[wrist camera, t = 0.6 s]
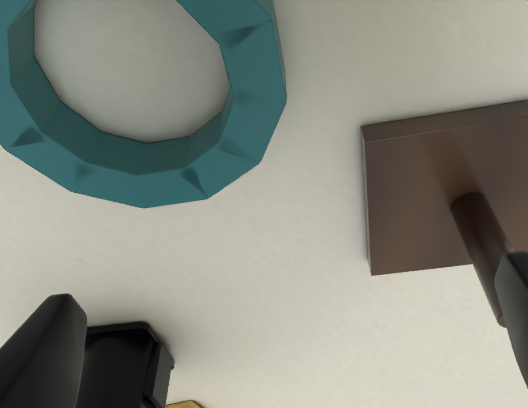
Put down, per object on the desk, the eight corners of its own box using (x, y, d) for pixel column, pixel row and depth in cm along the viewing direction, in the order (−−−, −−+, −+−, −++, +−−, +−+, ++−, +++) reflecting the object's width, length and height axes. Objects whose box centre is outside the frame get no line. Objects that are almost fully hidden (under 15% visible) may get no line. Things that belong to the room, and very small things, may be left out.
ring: (71, 188, 24) (56, 221, 22) (-97, -68, 15) (-142, -48, 14) (299, 153, 22) (302, 186, 20) (245, -153, 14) (243, -142, 12)
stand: (367, 260, 28) (394, 383, 22) (360, 126, 21) (395, 254, 15) (540, 239, 26) (614, 364, 21) (592, 89, 20) (721, 214, 14)
